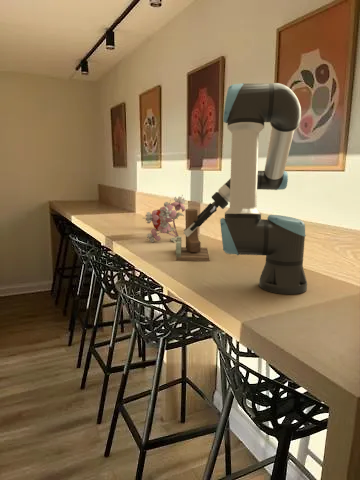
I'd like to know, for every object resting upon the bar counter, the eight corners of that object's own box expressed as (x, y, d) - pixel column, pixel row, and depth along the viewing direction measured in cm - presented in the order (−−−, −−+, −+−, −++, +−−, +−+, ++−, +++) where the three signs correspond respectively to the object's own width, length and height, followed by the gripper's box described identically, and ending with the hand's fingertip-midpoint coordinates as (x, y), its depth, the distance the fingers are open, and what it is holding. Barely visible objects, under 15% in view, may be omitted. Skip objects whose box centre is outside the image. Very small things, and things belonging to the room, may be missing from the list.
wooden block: (200, 252, 165) (200, 210, 162) (190, 252, 164) (190, 211, 161) (195, 248, 174) (194, 208, 170) (185, 248, 173) (185, 209, 169)
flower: (157, 232, 216) (145, 194, 202) (194, 231, 208) (185, 191, 195) (145, 254, 201) (131, 214, 187) (185, 253, 193) (174, 212, 179)
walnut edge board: (209, 261, 158) (209, 245, 157) (175, 260, 159) (175, 245, 157) (206, 250, 178) (207, 237, 177) (177, 250, 178) (177, 236, 177)
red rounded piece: (151, 228, 239) (150, 206, 236) (166, 228, 240) (166, 206, 238) (152, 231, 229) (152, 208, 226) (169, 231, 230) (169, 208, 228)
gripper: (231, 205, 157) (191, 243, 161) (226, 201, 176) (191, 235, 179) (219, 192, 157) (179, 231, 160) (215, 189, 175) (179, 224, 178)
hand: (185, 233), depth 170 cm, fingers closed on wooden block, 6 cm apart
